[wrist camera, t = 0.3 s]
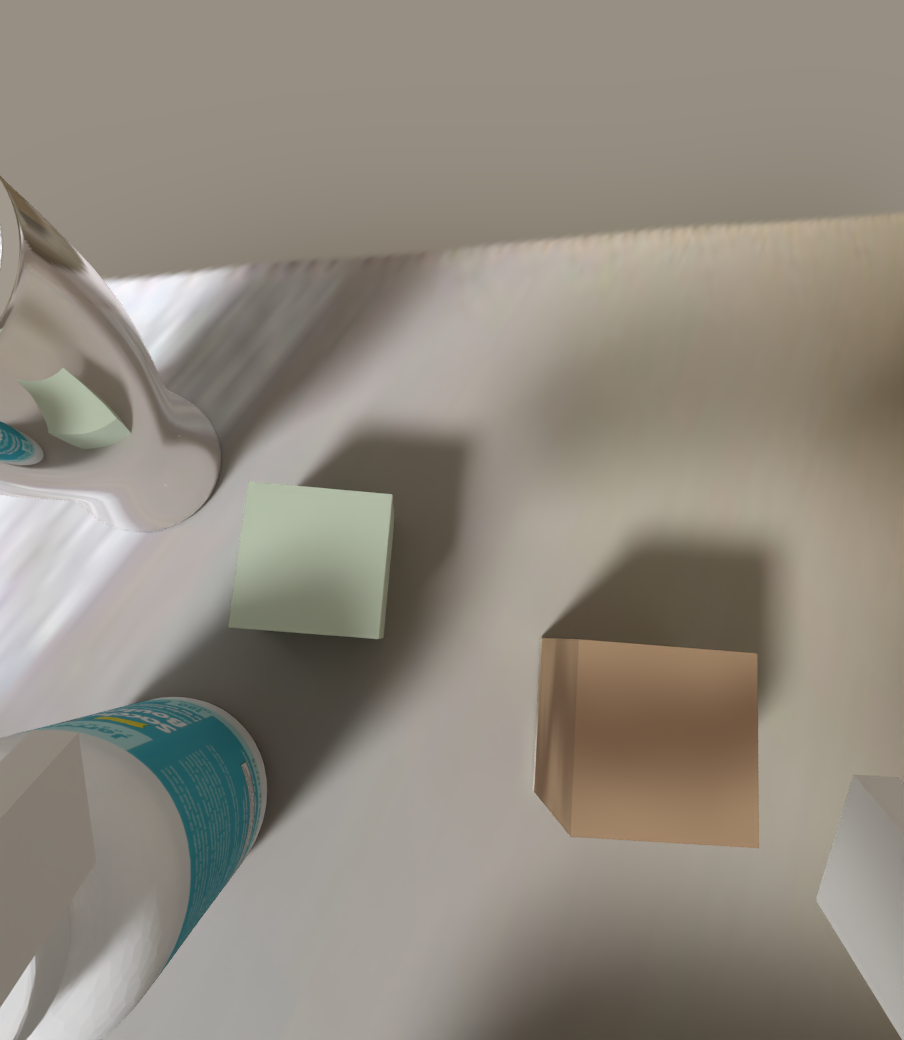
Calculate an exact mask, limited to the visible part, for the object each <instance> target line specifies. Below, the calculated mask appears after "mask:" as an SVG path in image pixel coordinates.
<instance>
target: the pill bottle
mask: <svg viewBox="0 0 904 1040" xmlns="http://www.w3.org/2000/svg"><path fill="white" fill-rule="evenodd" d="M34 730H42V731H60V732H78V733H79V740H80V747H81V755H82V762H83V769H84V776H85V784H86V791H87V798H88V806H89V813H90V820H91V827H92V835H93V842H94V849H95V857H96V863H95V865H94V866H93V868H92V869H91V871H90V872H89V874H88V876H87V877H86V879H85V880H84V882H83V883H82V885H81V886H80V888H79V889H78V891H77V892H76V894H75V895H74V897H73V898H72V900H71V901H70V903H69V904H68V906H67V907H66V909H65V910H64V912H63V913H62V915H61V916H60V918H59V919H58V921H57V923H56V924H55V926H54V927H53V929H52V930H51V932H50V933H49V935H48V936H47V938H46V939H45V941H44V942H43V944H42V945H41V947H40V948H39V950H38V951H37V953H36V954H35V956H34V957H33V959H32V960H31V962H30V963H29V965H28V966H27V968H26V970H25V971H24V973H23V974H22V976H21V977H20V979H19V980H18V982H17V983H16V985H15V986H14V988H13V989H12V991H11V992H10V994H9V995H8V997H7V998H6V1000H5V1001H4V1003H3V1004H2V1006H1V1007H0V1040H101V1039H102V1038H104V1037H105V1036H106V1035H107V1034H109V1033H110V1032H111V1031H112V1030H113V1029H115V1028H116V1027H117V1026H118V1025H119V1024H120V1023H121V1021H122V1020H123V1019H124V1018H125V1017H126V1016H127V1015H128V1014H129V1013H130V1012H131V1011H132V1010H133V1009H134V1007H135V1006H136V1005H137V1004H138V1003H139V1001H140V1000H141V999H142V998H143V996H144V995H145V994H146V992H147V991H148V990H149V988H150V987H151V986H152V984H153V983H154V982H155V980H156V979H157V978H158V976H159V975H160V973H161V972H162V971H163V969H164V968H165V967H166V965H167V964H168V963H169V961H170V960H171V959H172V957H173V956H174V954H175V953H176V952H177V950H178V949H179V948H180V946H181V945H182V943H183V942H184V941H185V939H186V938H187V937H188V935H189V934H190V932H191V931H192V930H193V928H194V927H195V926H196V924H197V923H198V922H199V920H200V919H201V917H202V916H203V915H204V913H205V912H206V911H207V909H208V908H209V907H210V905H211V904H212V903H213V901H214V900H215V899H216V897H217V896H218V895H219V893H220V892H221V891H222V889H223V888H224V887H225V885H226V884H227V883H228V881H229V880H230V879H231V877H232V876H233V874H234V873H235V872H236V870H237V869H238V868H239V866H240V865H241V863H242V862H243V861H244V859H245V858H246V856H247V855H248V853H249V852H250V850H251V848H252V846H253V844H254V842H255V841H256V838H257V836H258V834H259V831H260V828H261V825H262V822H263V819H264V814H265V809H266V802H267V780H266V773H265V768H264V763H263V760H262V757H261V754H260V752H259V750H258V748H257V746H256V744H255V742H254V740H253V739H252V737H251V736H250V734H249V733H248V732H247V730H246V729H245V728H244V727H243V726H242V725H241V724H240V723H239V722H238V721H237V720H236V719H235V718H234V717H232V716H231V715H230V714H229V713H227V712H226V711H224V710H222V709H221V708H219V707H217V706H215V705H212V704H210V703H207V702H204V701H201V700H197V699H193V698H186V697H163V698H156V699H152V700H147V701H143V702H139V703H135V704H132V705H128V706H124V707H119V708H115V709H112V710H108V711H104V712H100V713H96V714H93V715H89V716H85V717H81V718H77V719H73V720H70V721H66V722H62V723H58V724H54V725H50V726H46V727H42V728H38V729H34ZM31 731H32V730H30V731H25V732H21V733H17V734H14V735H10V736H7V737H3V738H0V761H1V760H2V759H3V758H4V757H5V756H6V755H7V754H8V753H10V752H11V751H12V750H13V749H14V748H15V747H16V746H17V745H18V744H19V743H20V742H21V741H22V740H23V739H24V738H25V737H26V736H27V735H28V734H29V733H30V732H31Z"/></svg>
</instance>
